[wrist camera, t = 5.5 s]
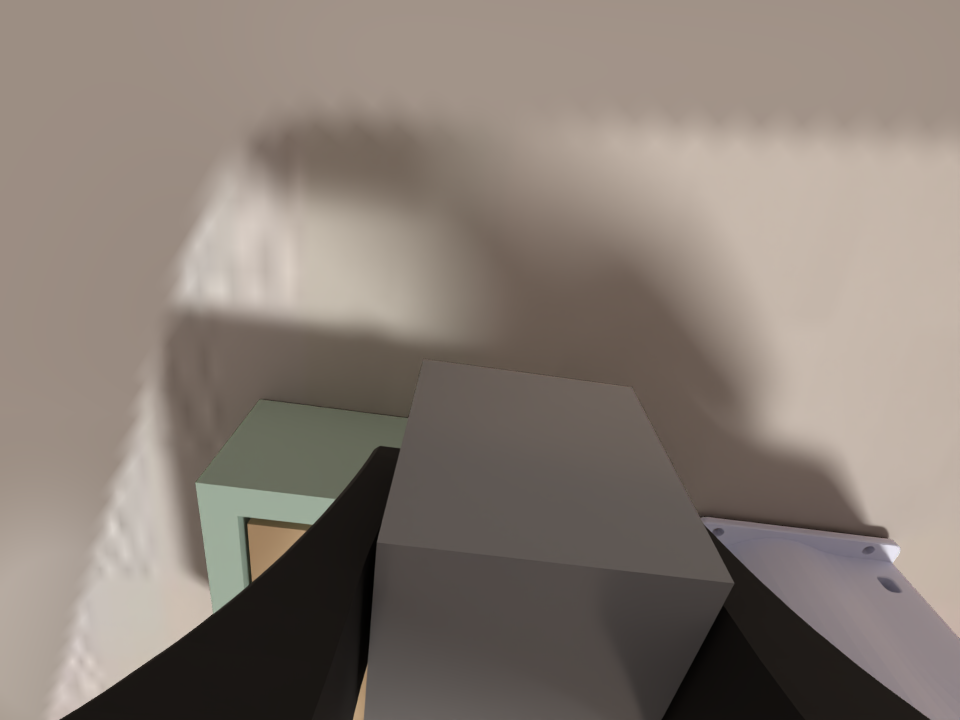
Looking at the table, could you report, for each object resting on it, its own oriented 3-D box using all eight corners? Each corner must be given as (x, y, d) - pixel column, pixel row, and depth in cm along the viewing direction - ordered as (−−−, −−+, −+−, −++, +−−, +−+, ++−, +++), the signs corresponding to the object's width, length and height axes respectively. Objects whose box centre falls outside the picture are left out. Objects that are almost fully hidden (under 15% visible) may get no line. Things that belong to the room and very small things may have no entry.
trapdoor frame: (626, 446, 21) (670, 552, 16) (555, 656, 27) (570, 780, 22) (259, 399, 20) (185, 495, 15) (273, 626, 26) (223, 748, 21)
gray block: (631, 387, 11) (734, 584, 6) (583, 539, 13) (634, 770, 8) (423, 359, 11) (377, 542, 6) (406, 518, 13) (361, 744, 8)
